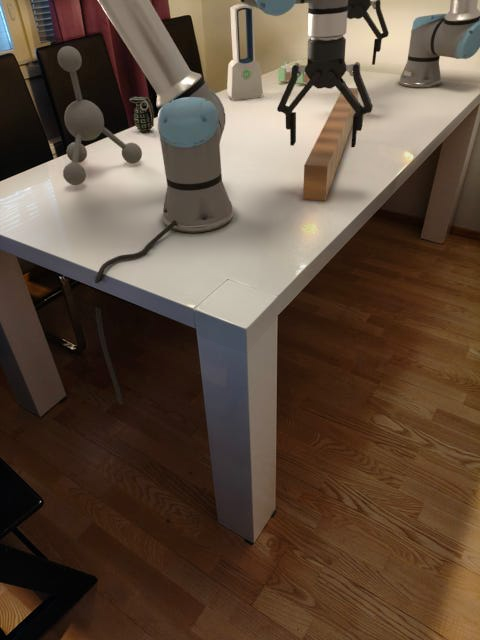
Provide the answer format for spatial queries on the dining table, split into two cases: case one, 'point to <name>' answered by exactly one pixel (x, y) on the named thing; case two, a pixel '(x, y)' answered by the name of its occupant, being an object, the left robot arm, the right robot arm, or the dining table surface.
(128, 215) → the dining table surface
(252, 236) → the dining table surface
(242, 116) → the dining table surface
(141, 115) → the grenade
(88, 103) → the molecular model
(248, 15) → the electronic device
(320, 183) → the post
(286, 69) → the decorative block
